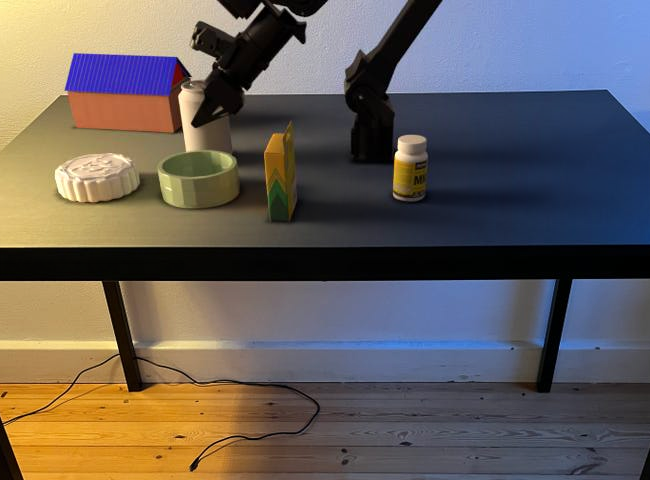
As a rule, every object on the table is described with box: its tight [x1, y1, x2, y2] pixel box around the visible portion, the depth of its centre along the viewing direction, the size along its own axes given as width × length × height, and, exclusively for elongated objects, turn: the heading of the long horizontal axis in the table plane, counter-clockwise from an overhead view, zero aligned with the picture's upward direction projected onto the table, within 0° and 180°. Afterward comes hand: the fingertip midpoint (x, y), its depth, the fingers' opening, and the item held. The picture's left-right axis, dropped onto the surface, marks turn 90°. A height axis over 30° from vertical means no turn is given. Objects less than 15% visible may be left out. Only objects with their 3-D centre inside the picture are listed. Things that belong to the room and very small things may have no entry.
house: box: [64, 52, 193, 133], centre depth 126 cm, size 12×20×12 cm, turn 79°
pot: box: [157, 150, 241, 210], centre depth 101 cm, size 11×11×4 cm
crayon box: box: [263, 120, 298, 222], centre depth 93 cm, size 7×3×12 cm, turn 174°
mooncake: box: [54, 152, 141, 203], centre depth 103 cm, size 12×12×4 cm
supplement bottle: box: [392, 134, 429, 203], centre depth 98 cm, size 5×5×8 cm
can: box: [178, 79, 233, 155], centre depth 110 cm, size 8×8×12 cm
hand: (196, 118), depth 109 cm, fingers closed on can, 7 cm apart
